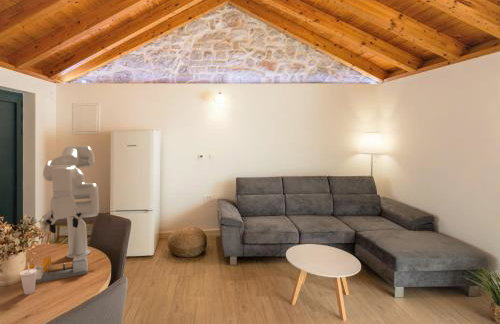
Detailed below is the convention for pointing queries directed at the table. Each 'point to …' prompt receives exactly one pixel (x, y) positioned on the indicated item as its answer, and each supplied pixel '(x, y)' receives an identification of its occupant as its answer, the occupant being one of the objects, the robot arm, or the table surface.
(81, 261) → the sleeve
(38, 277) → the light grey u-shaped block
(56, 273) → the board
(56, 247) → the table surface
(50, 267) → the tube
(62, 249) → the table surface
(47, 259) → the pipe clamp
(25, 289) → the smoothie
